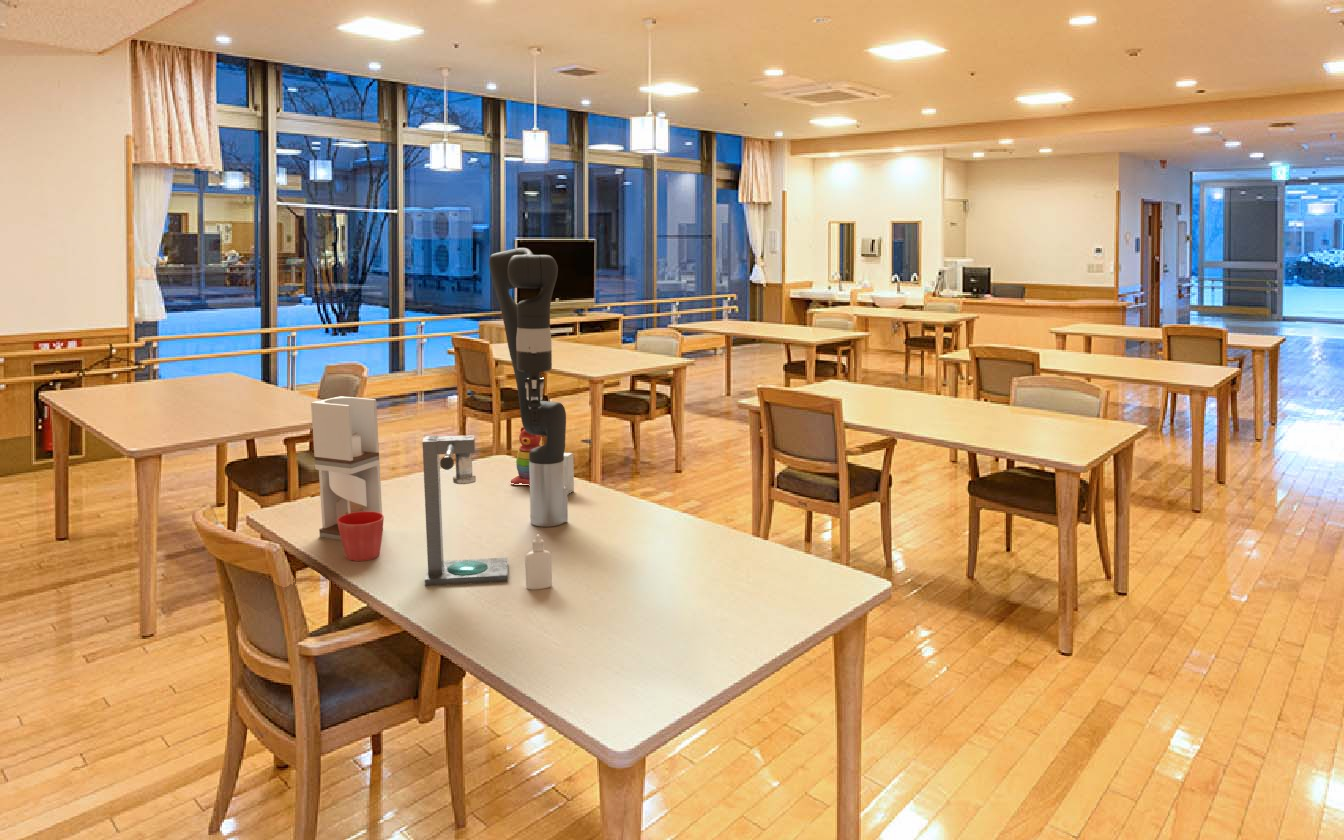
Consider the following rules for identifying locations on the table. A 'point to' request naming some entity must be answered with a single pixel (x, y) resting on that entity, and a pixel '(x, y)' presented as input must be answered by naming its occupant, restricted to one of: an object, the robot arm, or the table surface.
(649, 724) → the table surface
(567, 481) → the skincare box
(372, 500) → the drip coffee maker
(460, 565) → the arbor press
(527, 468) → the stacking bear
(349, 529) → the flower pot
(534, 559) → the eye dropper bottle
